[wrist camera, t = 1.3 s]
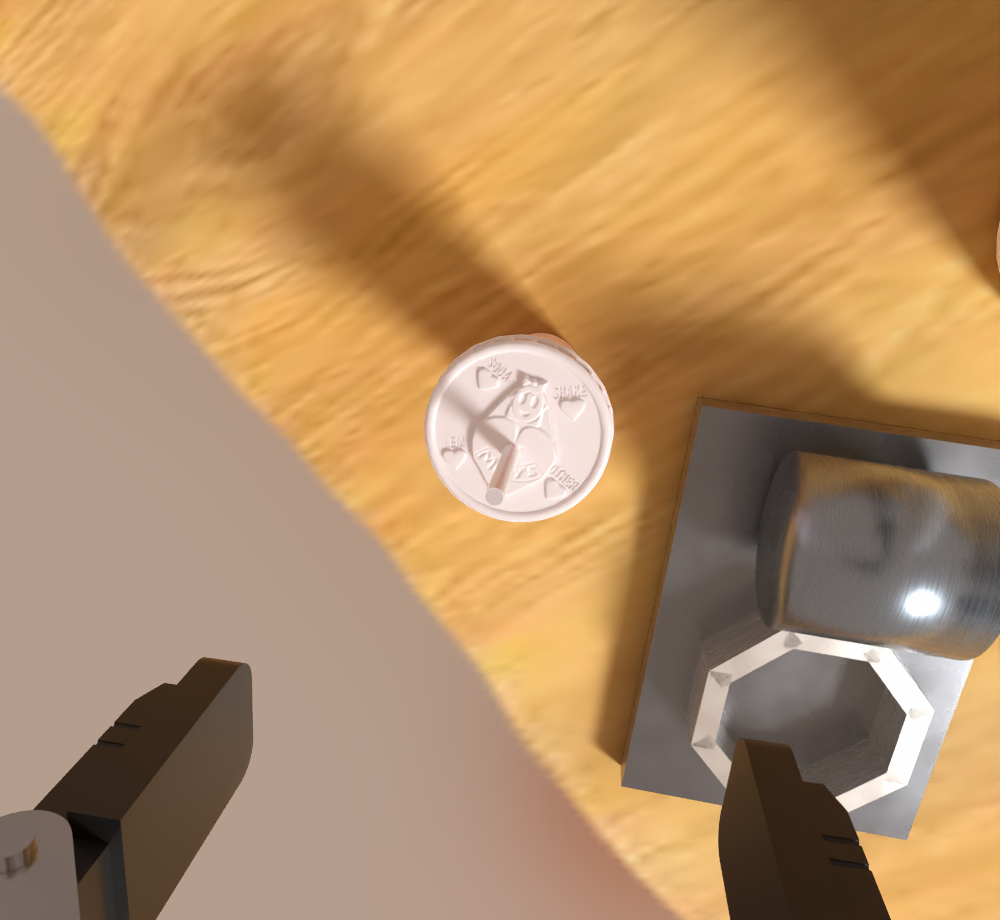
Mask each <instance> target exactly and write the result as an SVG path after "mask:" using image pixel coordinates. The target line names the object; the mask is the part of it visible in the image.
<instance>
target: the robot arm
mask: <svg viewBox="0 0 1000 920" xmlns="http://www.w3.org/2000/svg"><path fill="white" fill-rule="evenodd" d="M252 716H253V714H252V676H251V669H250V667H249V665H248V664H246V663H240V662H232V661H226V660H219V659H213V658H206V657H204V658H201V659H200V660H198V661H197V663H196V664H195V665H194V666H193V667H192V668H191V669H190V670H189V672H188V673H187V674H186V675H185V676H184V677H183V679H182V680H181V681H180V682H179V683H178V684H177V685H174V684H167V683H164V684H162V685H160V686H159V687H157V688H155V689H153V690H152V691H150V692H148V693H146V694H145V695H143V696H141V697H140V698H138V699H136V700H135V701H134V702H133V703H132V704H131V705H130V706H129V707H128V708H127V709H126V710H125V711H124V712H123V713H122V715H121V716H120V717H119V718H118V719H117V720H116V721H115V724H114V726H113V727H112V726H110V728H109V729H108V730H107V731H106V732H105V733H104V734H103V735H102V736H101V737H100V738H99V739H98V743H97V745H93V746H92V747H91V748H90V749H89V750H88V751H87V752H86V753H85V754H84V756H83V757H82V758H81V759H80V760H79V761H78V762H77V763H76V764H75V765H74V766H73V767H72V769H70V771H69V772H68V773H67V774H66V775H65V776H64V777H63V778H62V779H61V780H60V781H59V783H58V784H57V785H56V786H55V787H54V788H53V789H52V790H51V791H50V792H49V793H48V794H47V795H46V796H45V797H44V799H43V800H42V801H41V802H40V803H39V804H38V805H37V806H36V807H35V808H34V809H33V810H29V811H20V812H16V813H11V814H8V815H5V816H2V817H0V920H156V918H157V917H158V915H159V913H160V912H161V910H162V909H163V907H164V906H165V904H166V902H167V901H168V899H169V897H170V896H171V894H172V893H173V891H174V889H175V888H176V886H177V884H178V883H179V881H180V880H181V878H182V876H183V875H184V873H185V871H186V870H187V868H188V867H189V865H190V863H191V862H192V860H193V859H194V857H195V855H196V854H197V852H198V851H199V849H200V847H201V846H202V844H203V842H204V841H205V839H206V837H207V836H208V834H209V833H210V831H211V830H212V828H213V826H214V824H215V823H216V821H217V820H218V818H219V816H220V815H221V813H222V812H223V810H224V808H225V807H226V805H227V804H228V802H229V800H230V799H231V797H232V796H233V794H234V792H235V791H236V789H237V787H238V786H239V784H240V783H241V781H242V779H243V777H244V775H245V773H246V770H247V768H248V765H249V761H250V757H251V753H252V747H253V717H252ZM718 845H719V858H720V864H721V869H722V875H723V881H724V886H725V892H726V898H727V903H728V909H729V915H730V920H891V919H890V916H889V914H888V911H887V909H886V906H885V904H884V901H883V899H882V896H881V894H880V891H879V889H878V886H877V884H876V881H875V879H874V876H873V874H872V871H870V870H869V864H868V861H867V859H866V856H865V854H864V851H863V849H862V846H859V839H858V836H857V834H856V831H855V829H854V826H853V824H852V821H851V819H850V816H849V814H848V811H847V810H846V809H845V808H844V807H843V806H842V804H841V803H840V802H839V801H838V800H837V799H836V798H835V796H834V795H833V794H832V793H831V792H830V791H829V790H828V789H827V787H826V786H825V785H824V784H819V783H813V782H806V781H803V780H802V777H801V774H800V771H799V769H798V766H797V763H796V760H795V757H794V754H793V751H792V749H791V747H790V746H789V745H787V744H780V743H773V742H767V741H760V740H753V739H746V738H739V740H738V741H737V744H736V746H735V750H734V755H733V759H732V764H731V769H730V773H729V778H728V782H727V787H726V791H725V796H724V801H723V805H722V810H721V815H720V821H719V835H718Z"/></svg>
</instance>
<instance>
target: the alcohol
mask: <svg viewBox="0 0 1000 920" xmlns="http://www.w3.org/2000/svg"><path fill="white" fill-rule="evenodd" d="M996 259H997V263H998V268H999V273H1000V222H999V227H998V232H997V254H996Z"/></svg>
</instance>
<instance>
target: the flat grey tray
mask: <svg viewBox="0 0 1000 920" xmlns="http://www.w3.org/2000/svg"><path fill="white" fill-rule="evenodd" d="M999 633H1000V441H994V440H987V439H980V438H974V437H967V436H960V435H953V434H946V433H940V432H933V431H926V430H919V429H912V428H905V427H899V426H892V425H885V424H878V423H871V422H865V421H858V420H851V419H844V418H837V417H830V416H824V415H817V414H810V413H803V412H796V411H789V410H783V409H776V408H769V407H762V406H755V405H749V404H742V403H735V402H728V401H721V400H714V399H708V398H701V397H698V399H697V404H696V409H695V414H694V419H693V423H692V428H691V433H690V438H689V442H688V447H687V452H686V457H685V462H684V466H683V471H682V476H681V481H680V486H679V490H678V495H677V500H676V505H675V509H674V514H673V519H672V524H671V529H670V533H669V538H668V543H667V548H666V552H665V557H664V562H663V567H662V572H661V576H660V581H659V586H658V591H657V596H656V600H655V605H654V610H653V615H652V619H651V624H650V629H649V634H648V639H647V643H646V648H645V653H644V658H643V662H642V667H641V672H640V677H639V682H638V686H637V691H636V696H635V701H634V706H633V710H632V715H631V720H630V725H629V729H628V734H627V739H626V744H625V749H624V753H623V758H622V763H621V786H623V787H628V788H633V789H639V790H644V791H649V792H655V793H660V794H665V795H670V796H676V797H681V798H686V799H692V800H697V801H702V802H708V803H713V804H718V805H723V801H724V796H725V791H726V787H727V782H728V778H729V773H730V769H731V764H732V759H733V755H734V750H735V746H736V744H737V741H738V740H739V738H746V739H753V740H760V741H767V742H773V743H780V744H787V745H789V746H790V747H791V749H792V751H793V754H794V757H795V760H796V763H797V766H798V769H799V771H800V774H801V777H802V780H803V781H806V782H813V783H819V784H824V785H825V786H826V787H827V789H828V790H829V791H830V792H831V793H832V794H833V795H834V796H835V798H836V799H837V800H838V801H839V802H840V803H841V804H842V806H843V807H844V808H845V809H846V810H847V811H848V814H849V816H850V819H851V821H852V824H853V826H854V829H855V830H856V831H861V832H866V833H872V834H877V835H882V836H887V837H893V838H898V839H903V840H907V838H908V835H909V832H910V830H911V827H912V824H913V821H914V819H915V816H916V813H917V811H918V808H919V805H920V802H921V800H922V797H923V794H924V792H925V789H926V786H927V784H928V781H929V778H930V775H931V773H932V770H933V767H934V765H935V762H936V759H937V757H938V754H939V751H940V748H941V746H942V743H943V740H944V738H945V735H946V732H947V730H948V727H949V724H950V721H951V719H952V716H953V713H954V711H955V708H956V705H957V703H958V700H959V697H960V694H961V692H962V689H963V686H964V684H965V681H966V678H967V676H968V673H969V670H970V667H971V665H972V662H973V659H974V658H976V657H978V656H979V655H981V654H982V653H983V652H985V651H986V650H987V649H988V648H989V647H990V646H991V645H992V644H993V642H994V641H995V639H996V638H997V637H998V635H999Z"/></svg>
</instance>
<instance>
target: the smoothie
mask: <svg viewBox="0 0 1000 920" xmlns="http://www.w3.org/2000/svg"><path fill="white" fill-rule="evenodd" d="M613 437H614V423H613V409H612V406H611V403H610V400H609V398H608V395H607V392H606V389H605V386H604V385H603V383H602V382H601V380H600V379H599V378H598V376H597V375H596V373H595V372H594V370H593V369H592V367H591V366H590V365H589V364H588V363H586V362H585V361H584V360H583V359H582V358H581V357H579V356H578V355H577V354H576V352H575V351H574V350H573V348H572V347H571V346H570V345H569V344H568V343H567V342H565V341H564V340H563V339H561V338H559V337H557V336H555V335H552V334H547V333H533V334H528V335H525V334H519V335H507V336H497V337H495V338H492V339H489V340H486V341H484V342H481V343H478V344H475V345H474V346H472V347H471V348H469V349H468V350H467V351H465V352H464V353H462V354H461V355H460V356H458V357H457V358H455V359H454V361H453V362H452V363H451V364H450V366H449V367H448V368H447V369H446V371H445V372H444V373H443V374H442V375H441V377H440V378H439V381H438V383H437V385H436V387H435V388H434V390H433V393H432V395H431V397H430V400H429V403H428V406H427V411H426V416H425V441H426V447H427V451H428V454H429V458H430V460H431V463H432V465H433V467H434V469H435V471H436V473H437V475H438V476H439V478H440V480H441V481H442V482H443V484H444V485H445V486H446V487H447V489H448V490H449V491H450V492H451V493H452V494H453V495H454V496H455V497H456V498H458V499H459V500H460V501H461V502H463V503H464V504H465V505H467V506H468V507H470V508H472V509H473V510H475V511H477V512H479V513H481V514H484V515H486V516H489V517H492V518H495V519H499V520H504V521H512V522H531V521H538V520H543V519H547V518H550V517H553V516H556V515H558V514H561V513H563V512H565V511H567V510H568V509H570V508H572V507H573V506H575V505H576V504H577V503H579V502H580V501H581V500H582V499H584V498H585V497H586V496H587V495H588V494H589V493H590V491H591V490H592V489H593V488H594V487H595V485H596V484H597V482H598V481H599V479H600V478H601V476H602V474H603V472H604V470H605V467H606V465H607V462H608V459H609V456H610V451H611V446H612V441H613Z"/></svg>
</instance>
